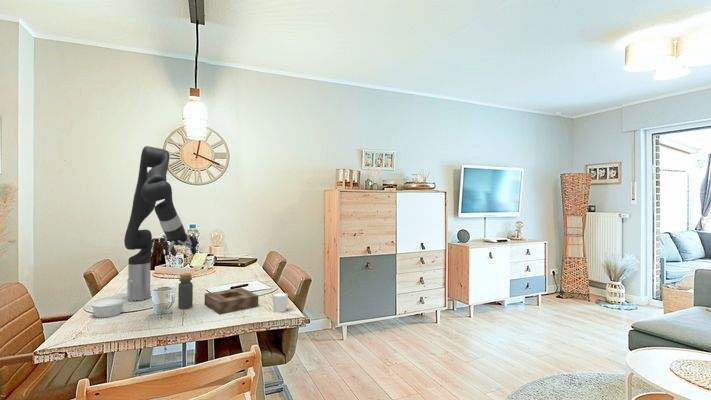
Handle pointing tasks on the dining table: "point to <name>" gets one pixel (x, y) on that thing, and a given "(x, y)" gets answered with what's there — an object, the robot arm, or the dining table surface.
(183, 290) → the bottle
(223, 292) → the holder block
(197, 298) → the dining table surface
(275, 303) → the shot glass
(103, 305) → the ramekin
